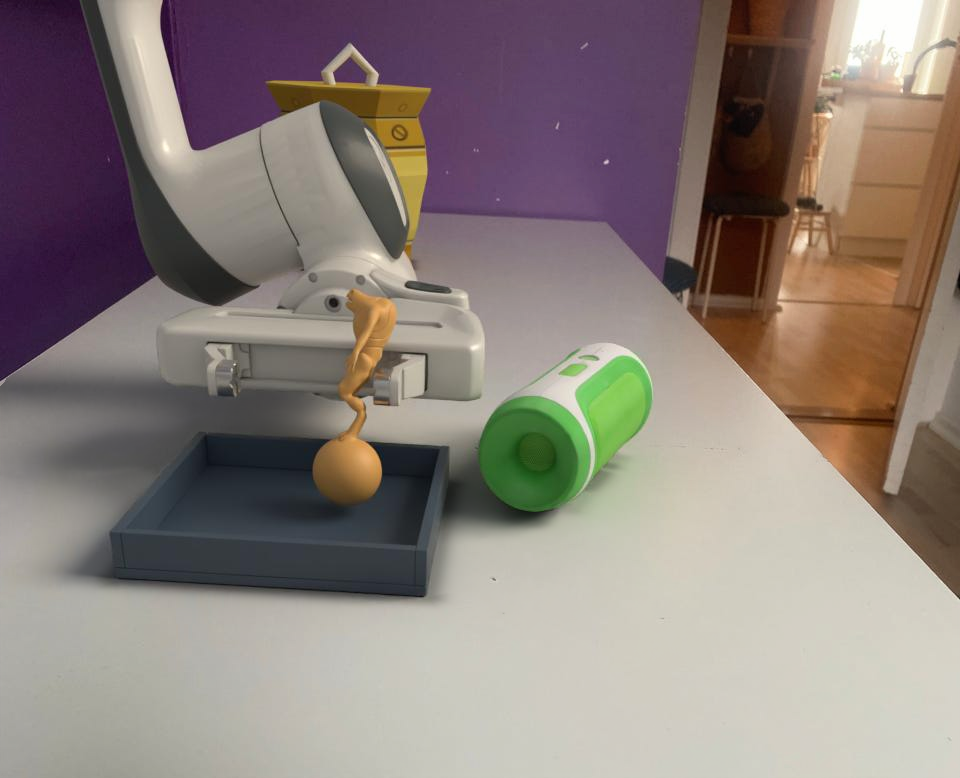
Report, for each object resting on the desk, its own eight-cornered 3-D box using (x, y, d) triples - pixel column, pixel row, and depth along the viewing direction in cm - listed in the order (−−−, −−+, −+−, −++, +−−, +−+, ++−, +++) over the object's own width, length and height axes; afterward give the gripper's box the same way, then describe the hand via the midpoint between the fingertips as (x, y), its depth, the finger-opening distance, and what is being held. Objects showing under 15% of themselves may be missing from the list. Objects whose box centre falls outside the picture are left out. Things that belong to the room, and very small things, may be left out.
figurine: (326, 507, 64) (297, 309, 62) (422, 495, 64) (396, 297, 63) (309, 512, 56) (275, 283, 54) (419, 498, 56) (388, 269, 54)
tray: (115, 578, 54) (108, 532, 52) (202, 469, 68) (198, 431, 67) (426, 596, 53) (427, 550, 52) (448, 484, 68) (449, 445, 66)
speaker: (558, 430, 78) (567, 329, 75) (652, 446, 76) (666, 343, 72) (467, 509, 64) (472, 389, 60) (580, 531, 62) (592, 408, 58)
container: (253, 251, 140) (240, 37, 127) (399, 247, 148) (400, 45, 136) (297, 281, 123) (288, 39, 111) (459, 275, 132) (467, 48, 119)
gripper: (186, 275, 69) (113, 321, 57) (491, 291, 69) (482, 341, 57) (195, 369, 72) (127, 431, 60) (486, 385, 72) (477, 451, 60)
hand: (302, 387), depth 59 cm, fingers open, 8 cm apart
